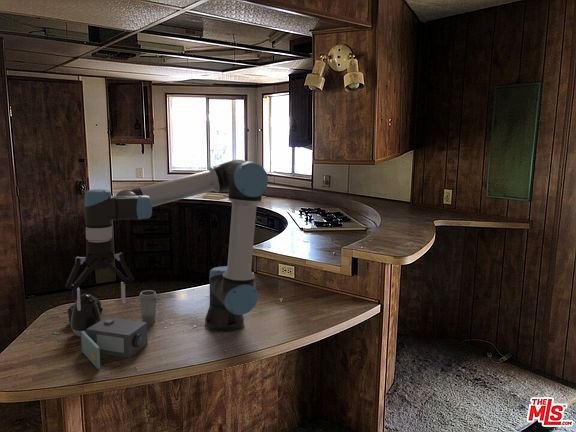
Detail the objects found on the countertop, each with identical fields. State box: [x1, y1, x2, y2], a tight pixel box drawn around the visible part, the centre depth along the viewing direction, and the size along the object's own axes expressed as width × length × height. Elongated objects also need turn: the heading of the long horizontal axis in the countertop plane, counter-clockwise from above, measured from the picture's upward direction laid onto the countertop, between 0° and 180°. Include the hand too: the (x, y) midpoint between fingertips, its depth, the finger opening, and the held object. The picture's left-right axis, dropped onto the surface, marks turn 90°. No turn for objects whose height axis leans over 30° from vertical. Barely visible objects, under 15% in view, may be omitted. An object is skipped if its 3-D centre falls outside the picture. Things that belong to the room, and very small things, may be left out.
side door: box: [80, 331, 101, 370], centre depth 146 cm, size 16×2×7 cm, turn 41°
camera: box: [67, 293, 104, 325], centre depth 178 cm, size 13×10×10 cm
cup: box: [138, 289, 158, 325], centre depth 178 cm, size 7×7×12 cm
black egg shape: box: [70, 293, 102, 338], centre depth 165 cm, size 10×10×15 cm
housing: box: [86, 316, 149, 359], centre depth 156 cm, size 18×11×9 cm, turn 76°
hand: (101, 305), depth 144 cm, fingers open, 12 cm apart
